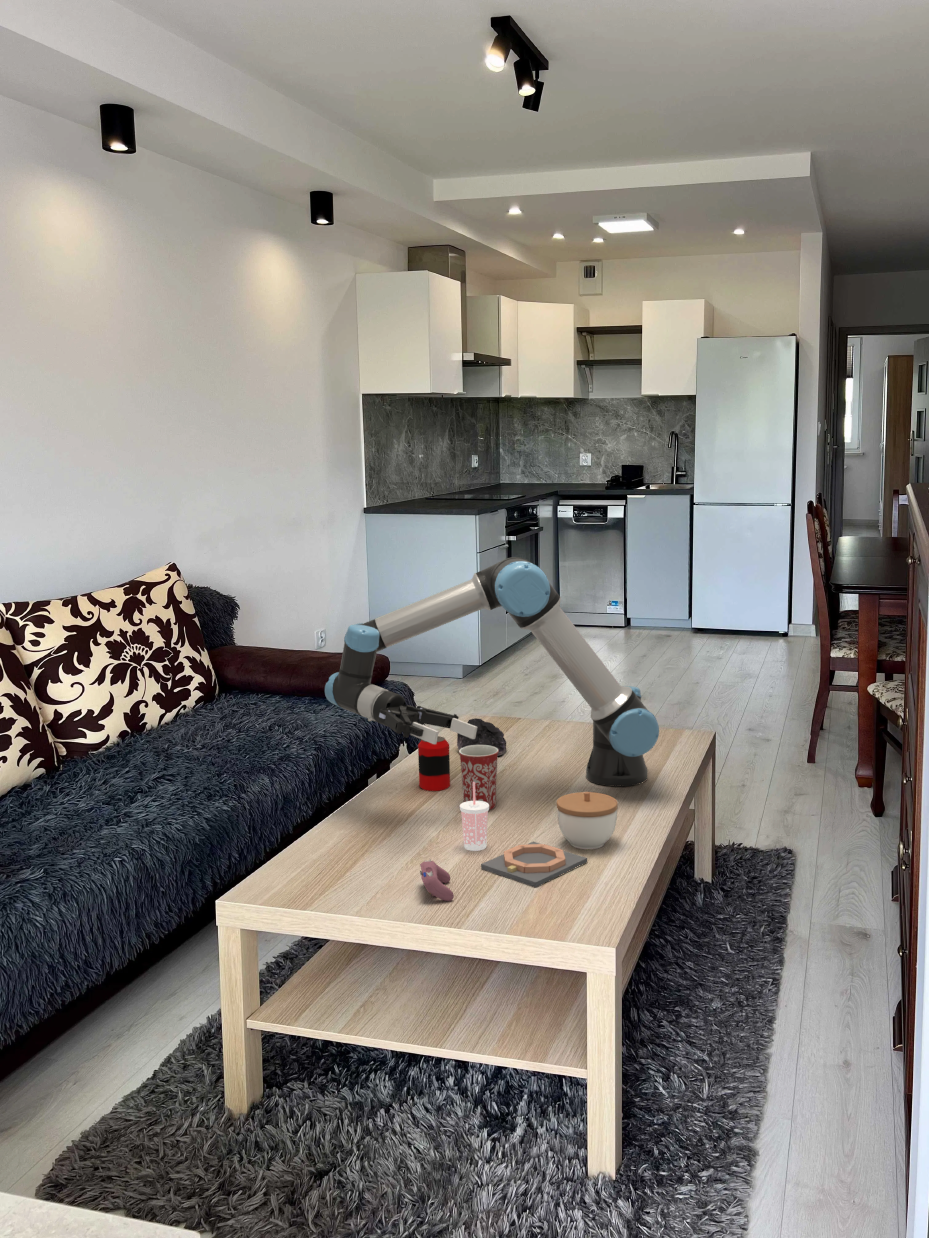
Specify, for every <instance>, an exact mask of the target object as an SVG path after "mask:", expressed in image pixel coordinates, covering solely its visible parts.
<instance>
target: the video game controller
mask: <svg viewBox="0 0 929 1238" xmlns="http://www.w3.org/2000/svg"><path fill="white" fill-rule="evenodd" d="M419 867H420V870H419V874H420V877H421V881H422V882H423V883H422V884H423V885H424V887H425V889H426V890H427V892H428V893H429V894H430V895H431V896H432V897H436V898H437V899H440V900H441V901H445V902H451V901H453V899H454V896H455V895H454V892H453V891H452V890H451V889H450V888H449V887H448V886H447V885H445V884H448V883H449V882H450V881H451V875H450V874H449V872H448V871H447V870H445V869H444V868H442V867H440V866H439V865H438V864H437V863H436V862H435V861H434V860H432V859H431V858H429V860H424V861H422V862H421V863H419Z"/></svg>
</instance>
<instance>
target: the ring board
mask: <svg viewBox="0 0 929 1238" xmlns="http://www.w3.org/2000/svg"><path fill="white" fill-rule="evenodd" d="M586 862H587V863H588V857H585V856H582V855H578V854H575V853H573V852H569V851H566V850H563V849H562V848H559V847H554V846H552V845H549V844H545V843H544V844H543V843H539V842H536V841H531V842H529V843H526V844H518V845H516V846H514V847H510V848H509V849H506V850H504V851H503V854H500V855H499V856H497V857H494V858H492V859H489V860H487V861H485V862H482V863H481V864H480V869H481V870H483V871H486V872H490V873H492V874H495V875H498V876H501V877H504V878H507V879H510V880H513V881H516V882H518V883H521V884H525V885H526V886H531V887H533V886H534V888H538V887H540V886H542V885H544V884H545V882H546V883H548V882H550V881H552V880H554V879H556V878H558V877H557V876H559V875H561V874H563V873H565V874H566V872H567V871H569V870H571V869H573V868H575V867H577V866H579V865H582V864H584V863H586ZM587 863H586V864H587ZM584 865H585V864H584ZM582 866H583V865H582ZM579 867H580V866H579ZM577 868H578V867H577ZM575 869H576V868H575ZM573 870H574V869H573ZM571 871H572V870H571ZM569 872H570V871H569ZM567 873H568V872H567ZM563 875H564V874H563ZM561 876H562V875H561ZM555 877H556V878H555ZM559 877H560V876H559ZM553 878H554V879H553ZM551 879H552V880H551ZM549 880H550V881H549ZM547 881H548V882H547ZM543 883H544V884H543ZM541 884H542V885H541ZM539 885H540V886H539ZM537 886H538V887H537Z"/></svg>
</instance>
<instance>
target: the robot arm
mask: <svg viewBox="0 0 929 1238" xmlns="http://www.w3.org/2000/svg"><path fill="white" fill-rule="evenodd" d="M561 600H562V597H561V596H560V594H559V593H558V592H557V591H556V589H555V588H554V587H553V585H552V584H551V582H550V581H549V579H548V576H547V575H546V574H545V572H544V571H543V570H542V569H541V568H540V567H539V566H538V565H536V564H534V563H532V562H531V561H529V560H528V559H526V558H523V557H518V556H513V557H508V558H505V559H502V560H500V561H498V562H496V563H494V564H492V565H490V566H488V567H487V568H484V569H482V570H479V571H477V572H475V573H473V575H472V578H471V579H469V580H466V581H464V582H461V583H460V584H459V583H458V584H457V585H454V586H452V587H450V588H447V589H445V590H441V591H440V592H436V593H435V594H432V595H430V596H427V597H425V598H423V599H420V600H417V601H415V602H412V603H411V604H408V605H405V606H402V607H401V608H398V609H395V610H393V611H391V612H388V613H386V614H383V615H381V616H379V617H376V618H374V619H372V620H369V621H366V622H364V623H362V622H361V623H360V622H359V623H355V624H351V625H348V627H347V630H346V632H345V635H344V638H343V639H344V640H343V641H344V644H343V648H342V649H343V651H342V655H341V661H340V668H339V671H337V672H335V673H333V674H331V675H330V676H329V677H328V681H327V682H325V686H324V695H325V697H326V700H327V701H328V702H330V703H331V704H333V705H335V706H337V707H338V708H339V709H342V710H346V711H349V712H351V713H354V714H356V715H359V716H361V717H364V718H367V721H368V722H372V721H373V722H376V723H377V724H380V725H382V726H384V727H388V728H390V729H391V730H392V731H394V733H395V734H399V735H401V734H402V732H403V735H402V737H403V738H409V737H410V736H413V737H415V738H417V739H420V740H424V741H427V742H429V743H432V744H436V743H437V738H438V736H439V733H440V731H438V730H436V729H433V728H431V727H428V726H426V725H431V726H434V727H439V728H446V729H449V730H450V731H451V732H454V733H455V734H457V733H459V734H461V735H464V736H466V737H469V738H471V739H475V737H476V732H477V727H476V726H474V725H471V724H468V723H467V722H466V721H464V720H460V719H459V718H460V717H459V716H458V715H457V714H456V713H453V714H450V713H446V712H442V711H438V710H434V709H430V708H426V707H423V706H421V705H417V706H414V705H411V704H410V705H408V704H407V703H406V700H405V698H404V696H403V695H401V694H399V693H397V692H396V693H395V692H394V691H390V690H388V689H386V688H383V687H381V686H378V685H375V684H373V683H372V678H373V670H374V667H375V662H376V658H377V657H376V656H377V653H378V652H381V651H383V650H384V649H387V648H389V647H392V646H395V645H397V644H400V643H402V642H405V641H407V640H409V639H412V638H414V637H417V636H419V635H421V634H425V633H426V632H430V631H432V630H434V629H436V628H439V627H441V626H444V625H446V624H448V623H451V622H453V621H455V620H458V619H461V618H463V617H466V616H469V615H471V614H473V613H476V612H478V611H481V610H487V611H491V610H494V609H497V608H501V607H502V608H503V609H504V610H505V611H506V612H507V613H508V615H509V616H510V617H511V618H512V620H513V621H514V622H515V624H516V625H517V626H518V627H519V628H520V630H529V631H530V632H531V633H532V635H533V636H534V637H535V638H536V640H537V641H538V642H539V643H540V645H541V646H542V648H543V649H544V650H545V651H546V652H547V653H548V656H550V658H551V659H552V660H553V662H555V663H556V665H557V666H558V668H559V670H560V671H561V672H562V673H563V674H564V675H565V677H566V678H567V679H568V680H569V682H570V683H571V684H572V685H573V687H574V688H575V689H576V691H577V693H579V694H580V696H581V698H582V699H584V701H585V702H586V703H587V704H588V706H589V707H590V709H591V711H590V719H591V720H592V738H593V739H592V749H591V752H590V755H589V758H588V762H587V765H586V769H585V778H586V779H587V780H588V782H591V783H594V784H598V785H602V786H605V787H607V786H608V787H631V786H637V785H640V784H643V783H645V782H646V781H647V780H648V767H647V764H646V761H645V757H644V755H645V754H646V753H648V752H649V751H651V750H652V749H653V748H654V746H655V745H656V743H657V741H659V740H658V739H659V736H660V727H659V726H660V725H659V723H658V720H657V718H656V716H655V715H654V714H653V712H652V711H650V710H648V708H647V707H646V706H645V705H644V703H643V702H642V700H641V699H642V695H641V689H640V688H639V687H637V686H632V685H629V686H628V685H621V684H620V682H618V680H617V679H616V678H615V676H614V675H613V674H612V672H611V671H610V670H609V669H608V668H607V666H606V665H605V664H604V662H603V661H602V659H601V658H600V657H599V655H597V653H596V652H595V650H594V649H593V648H592V647H591V645H590V644H589V643H588V642H587V640H586V639H585V637H583V635H582V633H580V631H579V629H577V627H576V626H575V625H574V623H573V622H572V621H571V619H570V617H568V616H567V614H566V613H565V611H564V610H563V609H562V608H561V602H562V601H561ZM646 779H647V780H646ZM645 780H646V781H645ZM644 781H645V782H644ZM642 782H643V783H642ZM639 783H640V784H639Z"/></svg>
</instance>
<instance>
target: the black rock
mask: <svg viewBox="0 0 929 1238" xmlns="http://www.w3.org/2000/svg"><path fill="white" fill-rule="evenodd" d="M466 723H468V724H471V725H474V726H476V727H477V732H476V737H475V739H471V738H469V737H466V736H464V735H461V734H459V733H456V734H457V735H456V737H457V739H456V745H457V749H458V751H459V750H460V749H461V748H463V747H466V746H471V745H489V746H493V747H496V748H498V750H499V751H498V756H499V757H500V756H502V755H504V754H505V753H506V752H507V741H506V739H505V737H504V736H505V734H504V732H503V731H502V730H500V728H499V727H498V726H497V727H496V725H494V724H493V723H491V722H490V721H485V720H483V719H482V718H478V717H477V718H476V717H475V718H471V719H469V720H467V722H466ZM498 756H497V757H498Z"/></svg>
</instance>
